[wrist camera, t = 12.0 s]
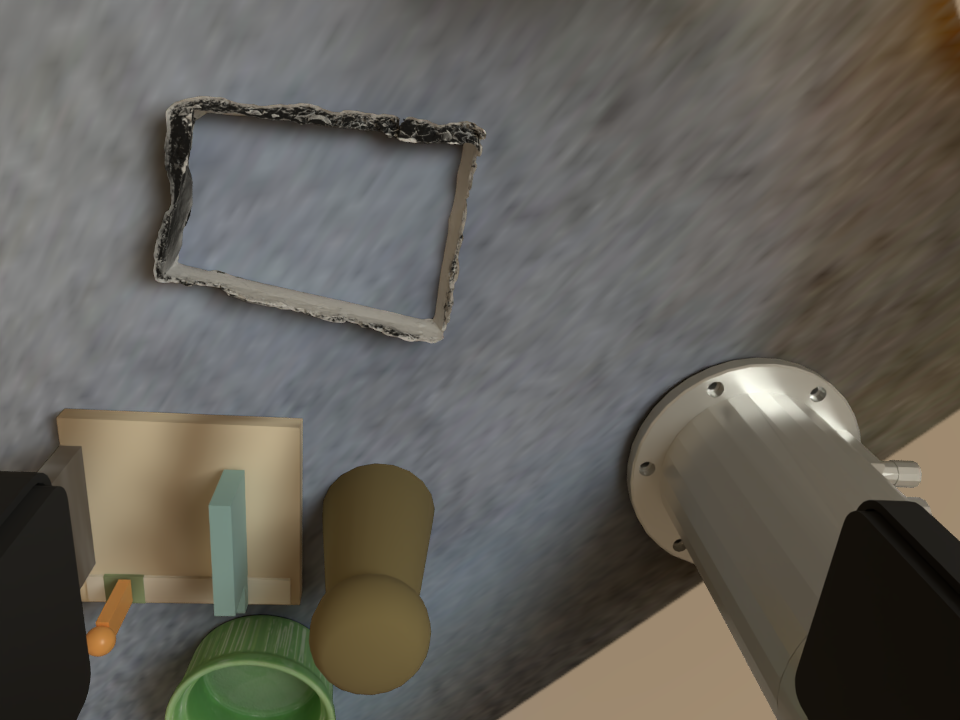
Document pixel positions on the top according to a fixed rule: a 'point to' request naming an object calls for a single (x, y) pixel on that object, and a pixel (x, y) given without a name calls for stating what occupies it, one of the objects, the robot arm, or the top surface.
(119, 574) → the stand
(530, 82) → the top surface
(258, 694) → the ramekin
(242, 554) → the pad
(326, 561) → the cork
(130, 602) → the ball-ended orange rod
